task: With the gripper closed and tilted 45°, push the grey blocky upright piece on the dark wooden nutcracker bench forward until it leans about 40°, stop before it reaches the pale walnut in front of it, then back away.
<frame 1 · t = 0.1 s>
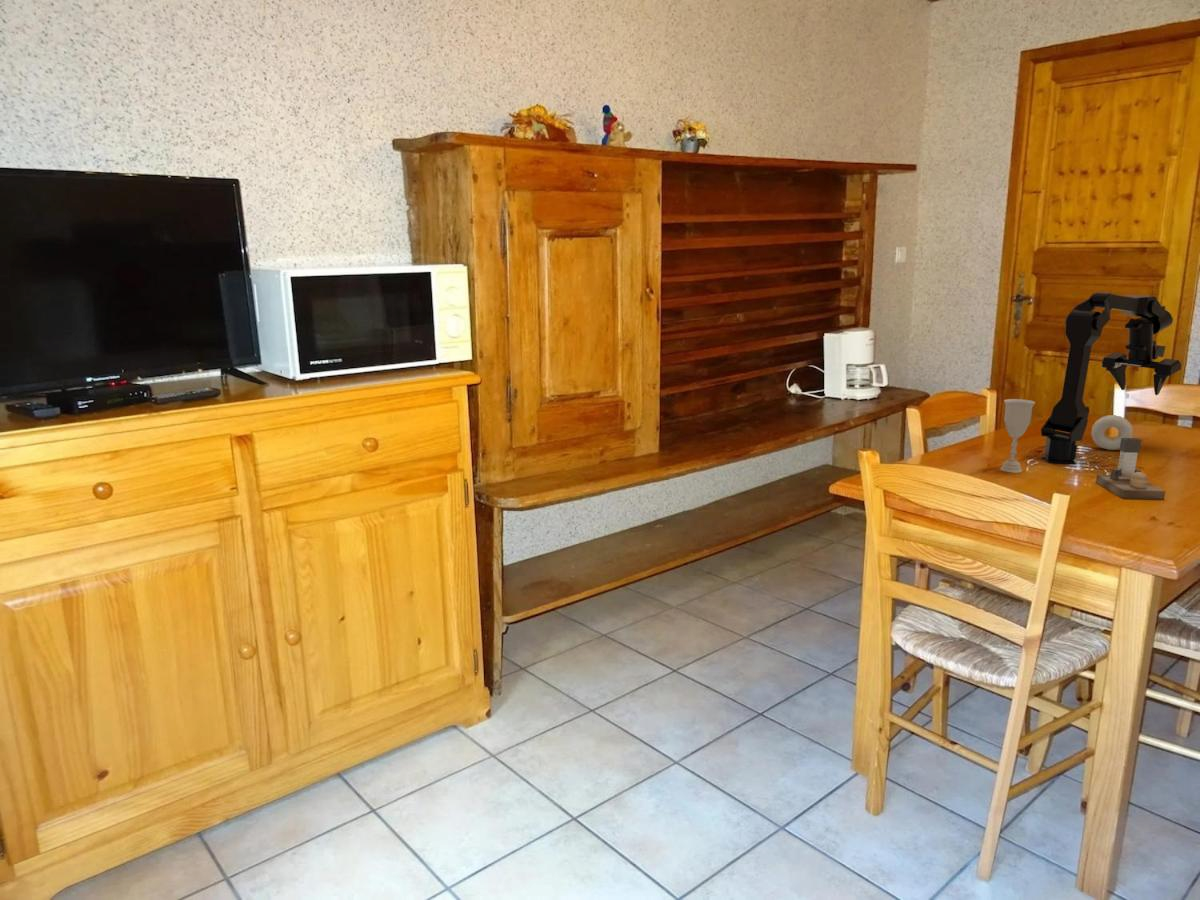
hand: (1139, 392, 237), 15 cm above the table, tool pointing down, fingers open, 9 cm apart
grey blocky upright piece: (1128, 457, 198), point 8 cm above the table, hinge at 0.0°
chalice: (1011, 470, 216), on the table
donut: (1109, 450, 235), on the table
walnut: (1137, 486, 194), point 2 cm above the table, touching bench
bench: (1123, 487, 200), on the table
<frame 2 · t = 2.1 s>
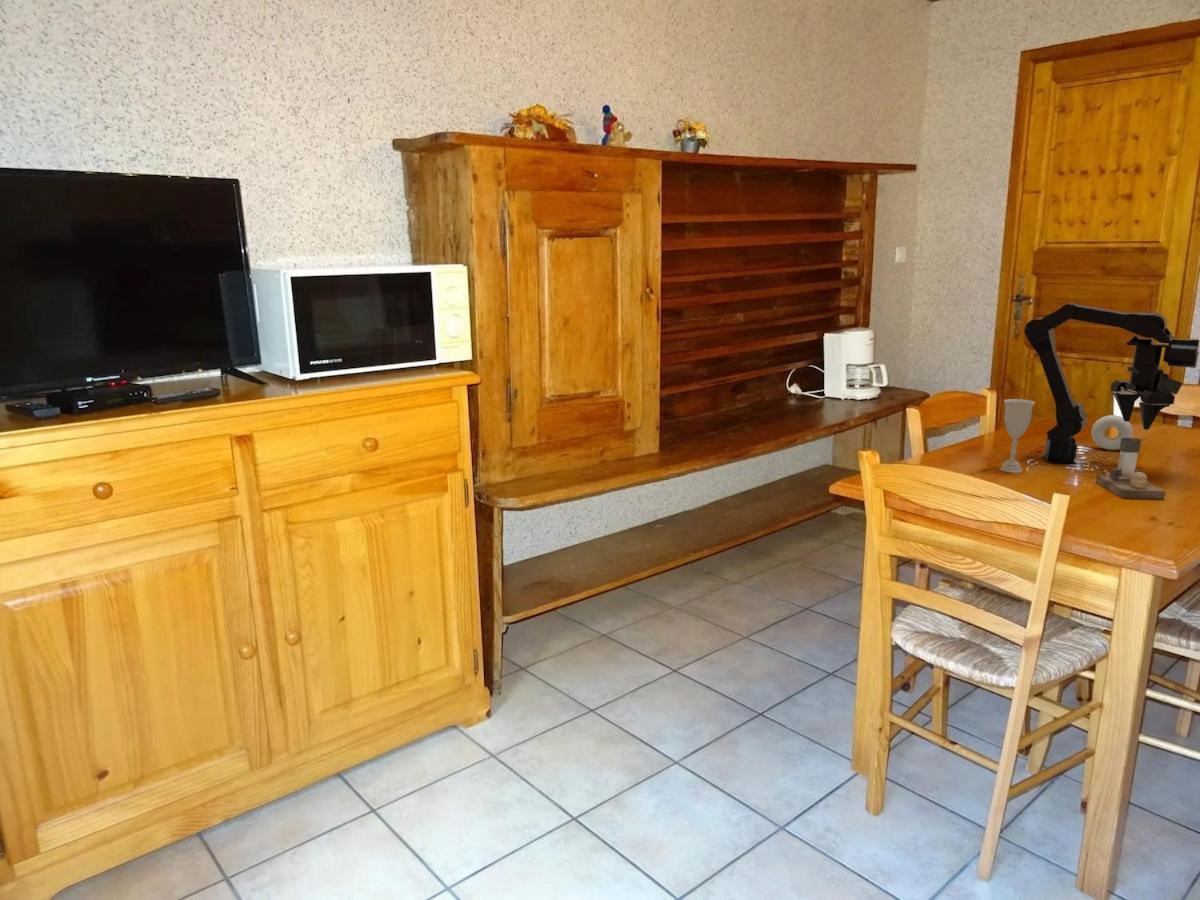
hand: (1136, 425, 211), 12 cm above the table, tool pointing down, fingers open, 9 cm apart
nothing on the table moved.
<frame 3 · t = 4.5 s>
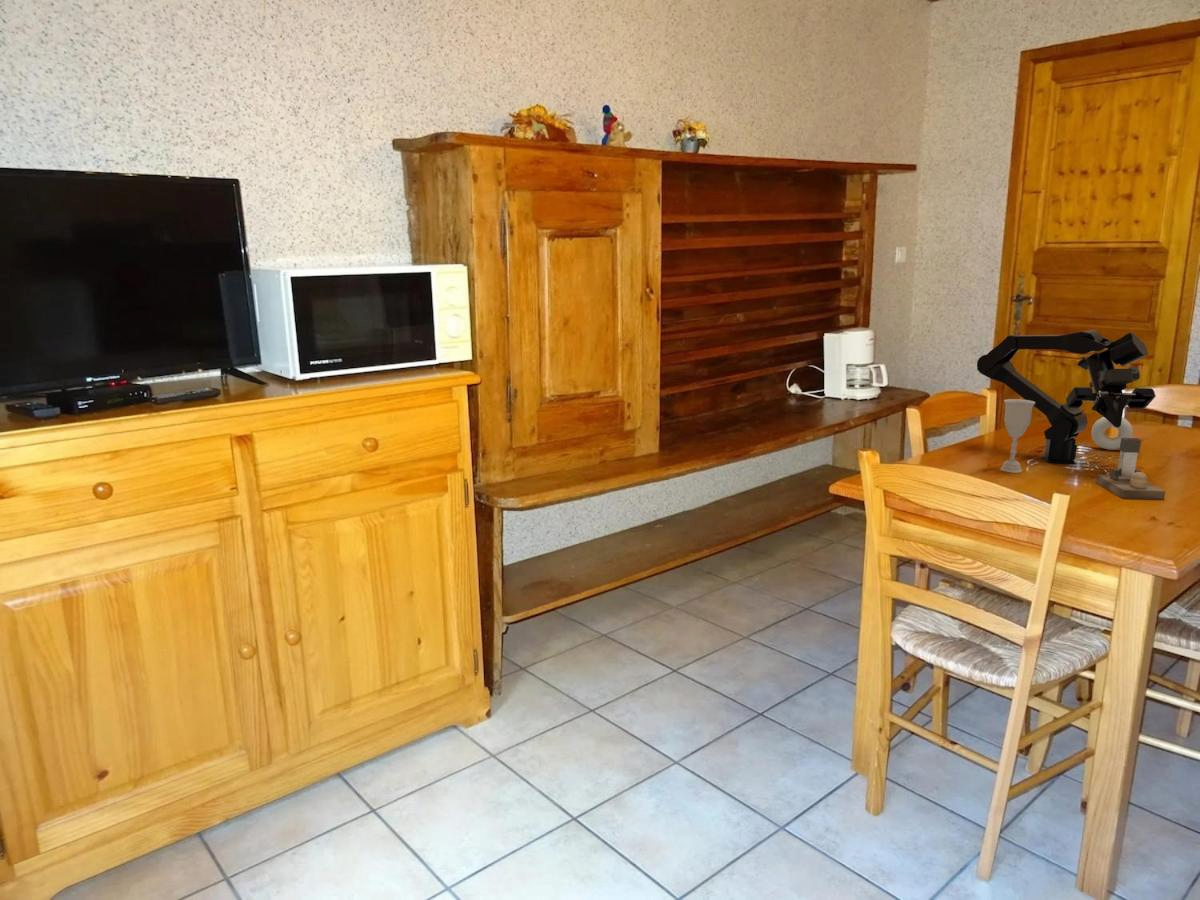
hand: (1118, 426, 203), 14 cm above the table, tool tilted 45°, fingers closed
nothing on the table moved.
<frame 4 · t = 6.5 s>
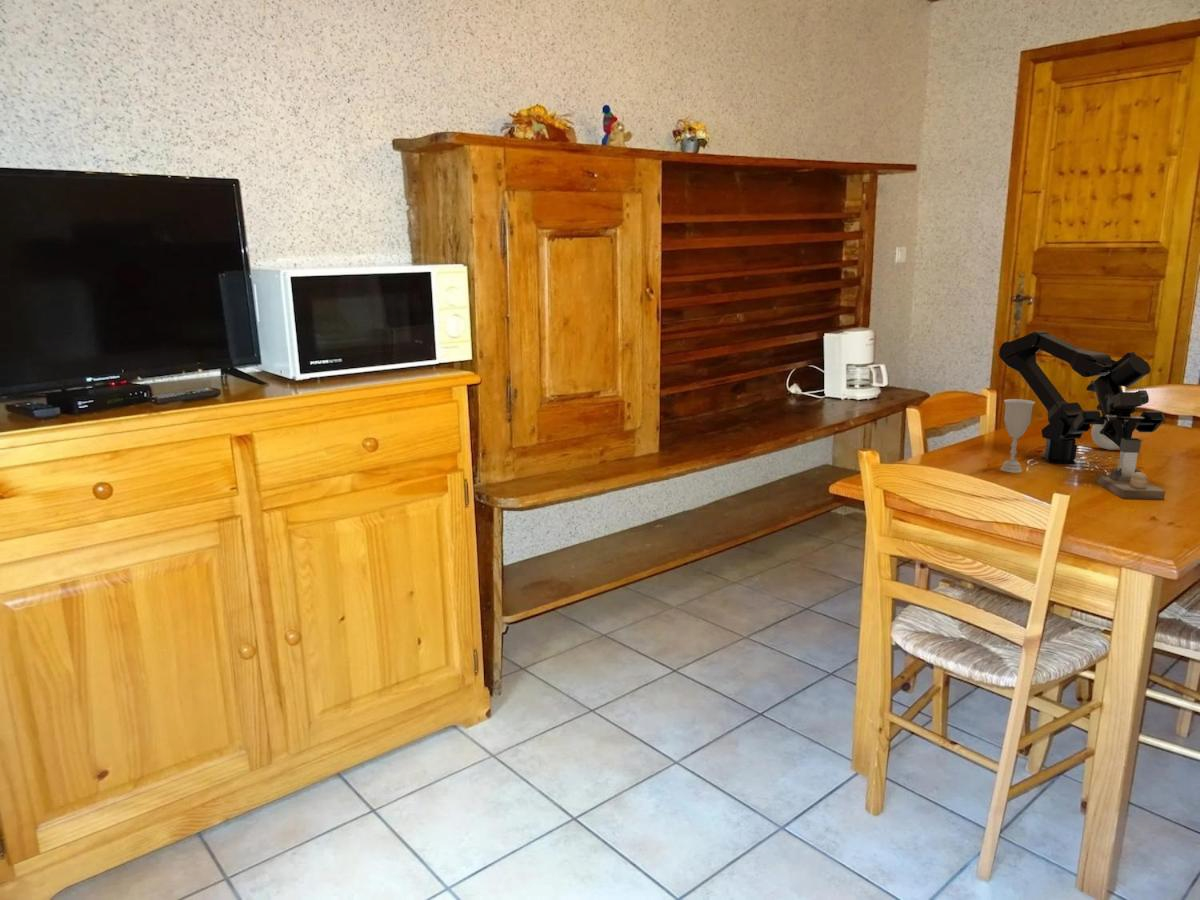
hand: (1127, 451, 199), 9 cm above the table, tool tilted 45°, fingers closed, pressing on grey blocky upright piece
grey blocky upright piece: (1128, 457, 198), point 7 cm above the table, hinge at 0.6°, touching gripper
everything else where it was.
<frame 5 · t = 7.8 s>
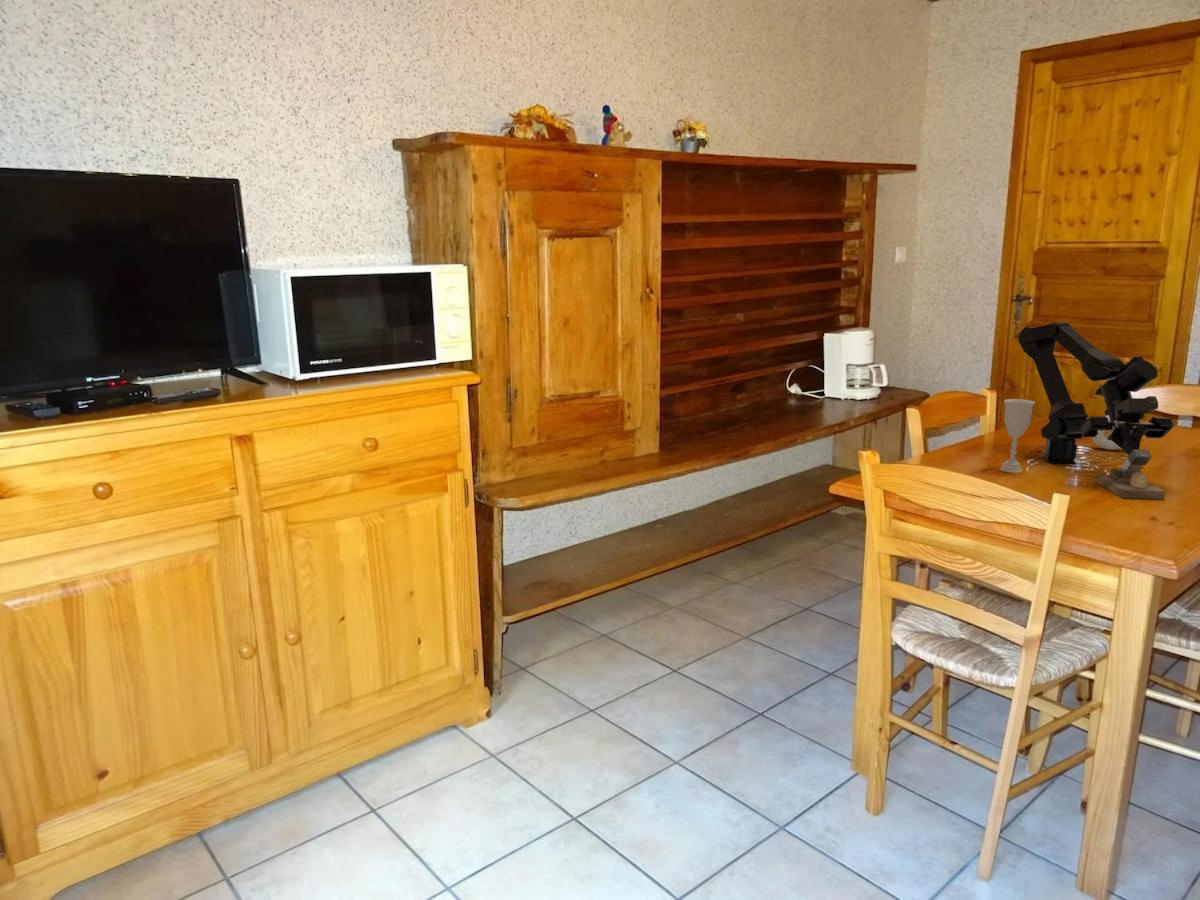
hand: (1135, 458, 196), 8 cm above the table, tool tilted 45°, fingers closed, pressing on grey blocky upright piece
grey blocky upright piece: (1133, 464, 196), point 6 cm above the table, hinge at 39.1°, touching gripper
everything else where it was.
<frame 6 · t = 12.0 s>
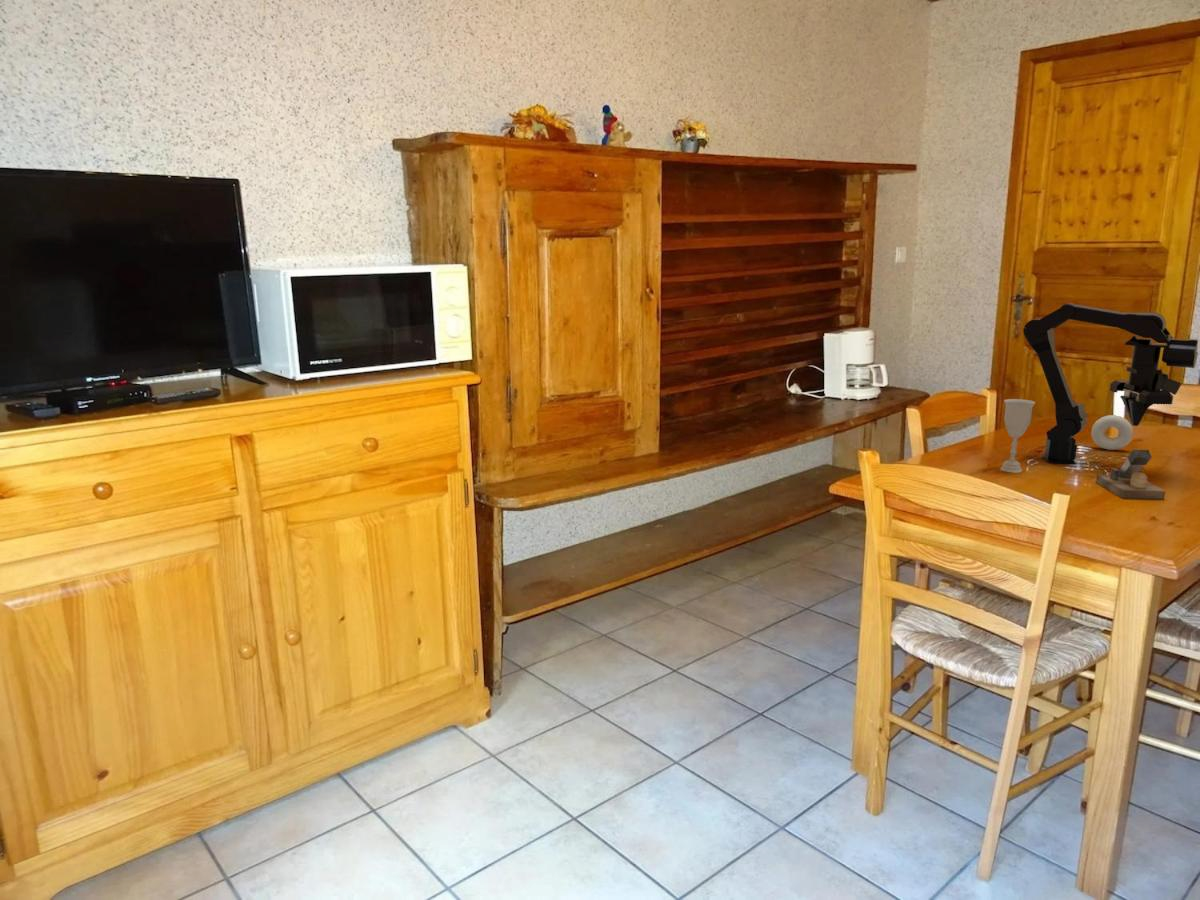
hand: (1135, 425, 211), 12 cm above the table, tool pointing down, fingers closed
grey blocky upright piece: (1133, 464, 196), point 6 cm above the table, hinge at 39.2°
everything else where it was.
at the end: grey blocky upright piece at +39° (first picture: +0°); walnut moved 0.0 cm from its start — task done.
